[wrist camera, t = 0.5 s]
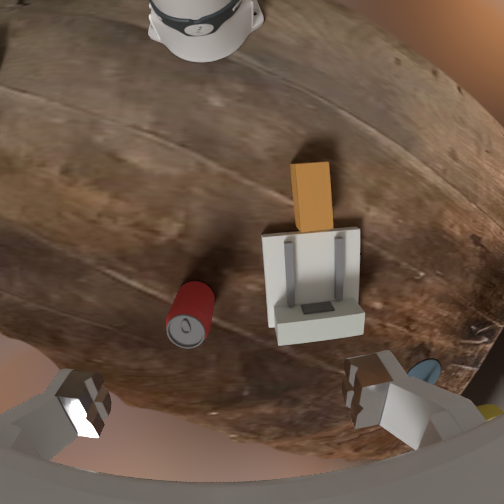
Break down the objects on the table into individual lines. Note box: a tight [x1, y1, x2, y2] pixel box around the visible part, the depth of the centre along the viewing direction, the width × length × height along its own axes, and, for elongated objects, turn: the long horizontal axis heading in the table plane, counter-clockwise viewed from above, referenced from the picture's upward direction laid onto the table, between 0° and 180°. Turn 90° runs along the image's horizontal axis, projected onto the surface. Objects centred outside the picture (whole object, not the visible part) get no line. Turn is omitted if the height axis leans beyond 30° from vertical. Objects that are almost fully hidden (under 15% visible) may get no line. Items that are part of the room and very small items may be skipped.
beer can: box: [166, 281, 215, 349], centre depth 49 cm, size 7×7×12 cm
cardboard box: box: [290, 162, 333, 232], centre depth 48 cm, size 10×5×5 cm, turn 6°
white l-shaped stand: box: [261, 227, 365, 346], centre depth 50 cm, size 16×16×8 cm
